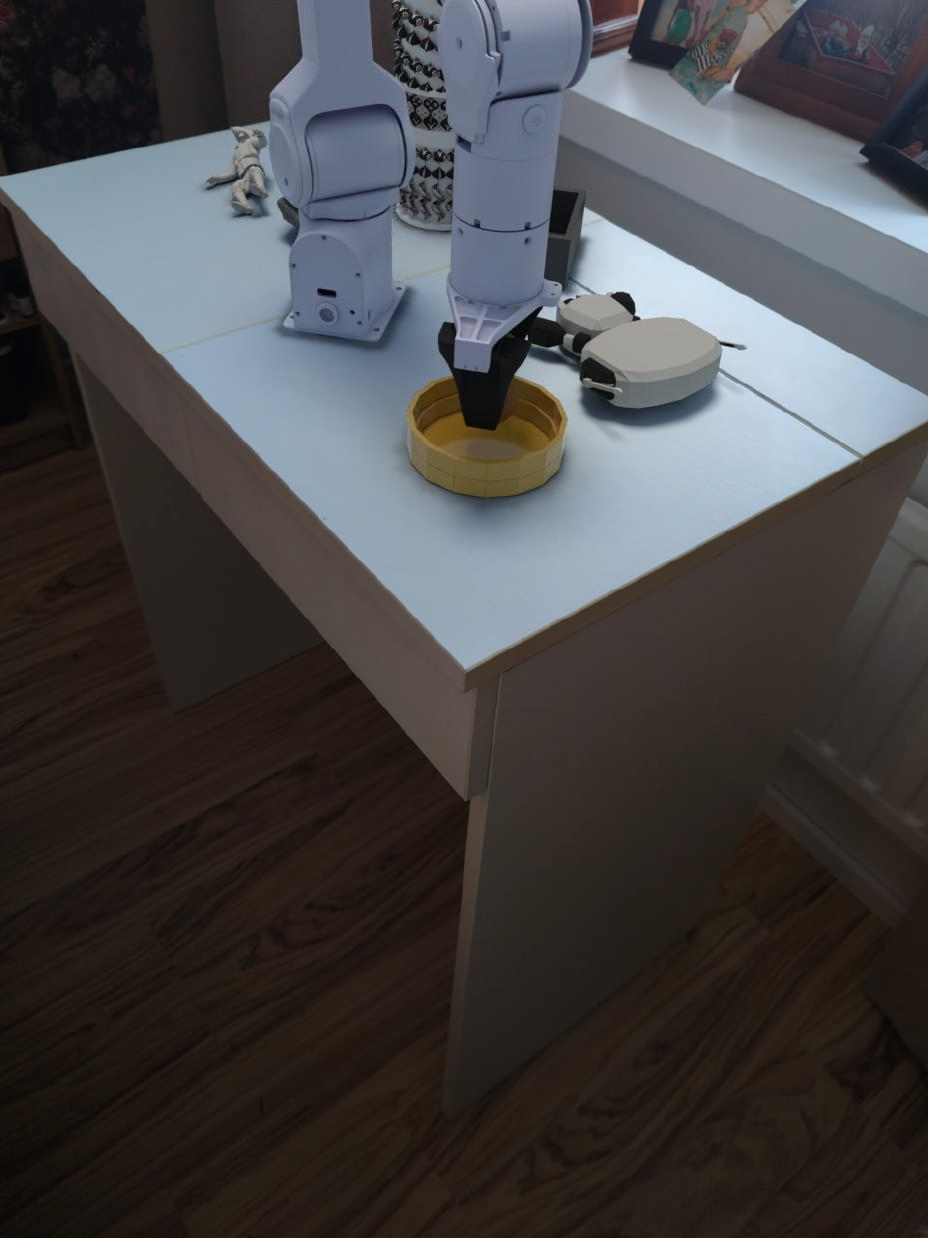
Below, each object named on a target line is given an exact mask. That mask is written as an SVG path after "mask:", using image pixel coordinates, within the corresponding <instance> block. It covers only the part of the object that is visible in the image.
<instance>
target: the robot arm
mask: <svg viewBox="0 0 928 1238" xmlns="http://www.w3.org/2000/svg"><path fill="white" fill-rule="evenodd" d="M296 3H297V4H296V5H297V14H298V25H299V34H300V41H301V42H300V43H301V51H302V52H301V53H302V57H301V58H300V60H299V62H298V63H297V64H296V65H295V66H294V67H293V68H292V69H291V70H290V71H289V72H288V74H286V76H285V77H284V78H283V79H282V80H281V81H279V83H278V84H277V85H276V86H275V87H274V88H273V89H272V90H271V91H270V94H269V104H268V105H269V106H268V107H269V122H270V124H269V125H270V126H269V127H270V128H269V132H268V133H269V134H268V152H269V160H270V165H271V170H272V173H273V176H274V179H275V183H276V186H277V187H278V190H279V191H280V193H281V195H282V197H283V196H284V197H285V198H286V199H287V200H288V201H289V202H290V203H291V204H292V205H293V206H295V207H297V208H298V210H299V222H300V228H299V230H298V234H297V236H296V239H295V240H294V242H293V244H292V246H291V249H290V251H289V255H288V271H289V282H290V284H289V285H290V294H291V295H290V296H291V305H292V309H291V311H290V312H289V314H288V315H287V317H286V318H285V320H284V321H283V322H282V327H283V329H286V330H291V331H296V332H297V331H298V332H305V333H310V334H311V333H312V334H316V335H323V336H330V337H336V338H337V337H338V338H343V339H349V340H350V339H351V340H357V341H362V342H370V343H377V342H379V341H380V340H381V337H382V336H383V334H384V333H385V330H386V329H387V327H388V325H389V323H390V321H391V319H392V317H393V315H394V313H395V311H396V310H397V308H398V306H399V304H400V302H401V300H402V298H403V296H404V294H405V293H406V292H407V285H406V284H405V283H403V282H395V281H393V232H392V231H393V228H392V227H393V226H392V225H393V223H392V222H393V221H392V214H393V213H392V206H393V205H394V204H398V203H399V202H400V189H402V188H404V187H406V186H407V185H408V183H409V182H410V180H411V177H412V174H413V172H414V169H415V163H416V146H415V139H414V134H413V130H412V127H411V124H410V120H409V115H408V108H407V99H406V94H405V89H404V88H403V86H402V85H401V84H400V82H399V81H398V80H397V79H396V78H395V76H394V75H393V74H392V73H390V72H389V71H387V70H386V69H385V68H383V67H382V66H381V65H380V64H378V63H377V62H376V61H374V53H373V52H374V51H373V38H372V20H371V7H370V6H371V5H370V0H296ZM441 3H442V5H443V8H442V12H441V17H440V24H437V26H436V33H437V47H438V55H439V60H440V65H441V69H442V72H443V76H444V80H445V86H446V113H447V115H448V123H449V126H450V127H452V128H453V129H454V130H455V152H454V180H453V209H452V230H451V235H450V237H451V241H450V263H449V264H450V267H449V272H448V274H447V276H446V289H445V291H446V296H447V300H448V303H449V307H450V308H449V309H450V311H451V315H452V319H453V322H449V321H443V322H442V324H441V327H440V328H439V331H438V332H437V347H438V353H439V354H440V355H441V357H442V358H443V359H444V361H445V363H446V365H447V366H448V369H449V370H450V372H451V375H453V377H454V380H455V383H456V387H457V391H458V395H459V400H460V405H461V410H462V414H463V418H464V422H465V425H466V426H467V427H473V428H479V429H485V430H491V431H494V430H496V428H497V426H498V423H499V420H500V418H501V415H502V411H503V408H504V404H505V400H506V397H507V393H508V389H509V385H510V383H511V380H512V378H513V379H514V375H516V374H517V372H518V370H519V369H520V368H521V367H522V365H524V362H525V360H526V358H527V357H528V355H529V353H530V349H531V346H532V344H531V343H532V341H531V340H528V339H526V338H527V333H528V331H529V329H530V327H531V326H532V324H533V322H534V320H535V319H536V317H539V314H540V313H541V312H542V310H543V309H544V308H545V307H547V308H555V307H557V305H558V304H559V301H560V300H561V299H562V298H561V297H562V291H563V290H562V285H561V284H560V283H558V282H554V281H548V280H546V279H545V278H544V270H545V260H546V251H547V241H548V232H549V222H550V213H551V205H552V195H553V187H555V186H554V185H555V176H556V167H557V156H558V147H559V139H560V138H559V137H560V128H561V118H562V110H563V100H564V93H563V90H569V89H572V88H574V87H576V86H577V85H578V84H579V82H581V80H582V79H583V78H584V76H585V73H586V72H587V70H588V68H589V67H588V66H589V64H590V60H591V57H592V50H593V44H594V23H593V22H594V21H593V12H592V7H591V3H590V0H441ZM508 332H509V333H511V334H512V335H513V337H514V338H511V337H505V334H506V333H508Z"/></svg>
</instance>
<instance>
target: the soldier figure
mask: <svg viewBox="0 0 928 1238" xmlns="http://www.w3.org/2000/svg"><path fill="white" fill-rule="evenodd" d="M229 130H230V131H231V133H232V135H233V137H234V138H235V140H236V141H237V143H238V144H237V145H236V146H235V147H234V149H235V150H234V152H233V154H232V157H231V161H230V164H229V168H228V170H227V171H226V172H224V173H220V174H216V175H210V176H208V177H207V178H206V179H205V181H204V185H206V184H207V183H209V184H210V188H212V187H213V186H214V184H215V183H216V184H222V183H226V182H229V181H233V180H234V179H236V177H237V176H238V177H239V179H237V180H236V181H235V182H234V183H232V184H231V186H230V192H231V197H232V198H233V201H232V202H231V204H230V206H231V207H232V208H233V210H235V212H238V213H244V214H246V215H250V214H252V213H253V208H252V206H251V205H250V203H249V202H248V199H247V197H246V195H248V194H250V193H251V194H252V195H254V196H258V197H260V198H262V199H268V198H269V193H268V191H267V189H266V188H265V184H264V182H265V177H266V172H265V168H264V166H263V165H262V163H261V161H260V154H261V150H263V149H264V148H266V147H267V146H268V145H269V142H268V139H267V136H266V134H265V132H264V131H262V129H261V128H259V127H251V129H249V128H244V127H241V126H231V127H230V128H229Z"/></svg>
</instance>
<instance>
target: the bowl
mask: <svg viewBox="0 0 928 1238" xmlns="http://www.w3.org/2000/svg"><path fill="white" fill-rule="evenodd" d="M514 380H515V382H516V385H517V388H518V402H517V405H516V408H515V410H514V412H513V413H512V414H511V416H510V417H509V418H508V419H506V420H505V421H503V422H502V423H499V424H498V426H497V428H496V430H494V431H491V430H485V429H479V428H473V427H467V426H466V425H465V422H464V418H463V414H462V410H461V406H460V402H459V395H458V391H457V387H456V383H455V380H454V377H453V375H452V374H450V375H447V376H445V377H442V378H441V377H440V378H438V379H435V380H432V381H431V382H429V383H428V384H426V385H425V386H424V387H422V388H421V389H420V390H418V391H417V392H415V394H413V397H412V399H411V401H410V403H409V405H408V408H407V410H406V448H407V452H408V456H409V460H410V461H409V462H410V464H411V465H412V466H413V467H414V468H415V470H417V471H418V472H419V474H421V476H422V477H424V479H425V480H427V481H428V482H430V483H433V484H435V485H436V486H439V487H441V488H443V489H445V490H447V491H449V492H452V493H455V494H459V495H460V494H461V495H466V496H472V497H478V498H483V499H484V498H486V499H487V498H498V497H500V498H501V497H511V496H518V495H521V494H523V493H527V492H528V491H531V490H533V489H537V488H538V487H542V485H544V484H546V483H547V482H548V481H549V480H550V479H551V478H552V477H553V476H554V475H555V474H556V473H557V472H558V471H559V469H560V468H561V467H560V466H561V464H562V463H561V462H562V458H563V455H564V451H565V450H564V449H565V442H566V434H567V429H568V422H569V418H568V416H567V414H566V411H565V409H564V407H563V404H562V401H560V399H558V398H557V397H556V396H555V395H554V394H552V392H550V391H549V390H548V389H547V388H545V386H542V385H541V384H538V383H536V382H534V381H531V380H529V379H526V378H524V377H521V376H518V375H516V374H515V375H514Z"/></svg>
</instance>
